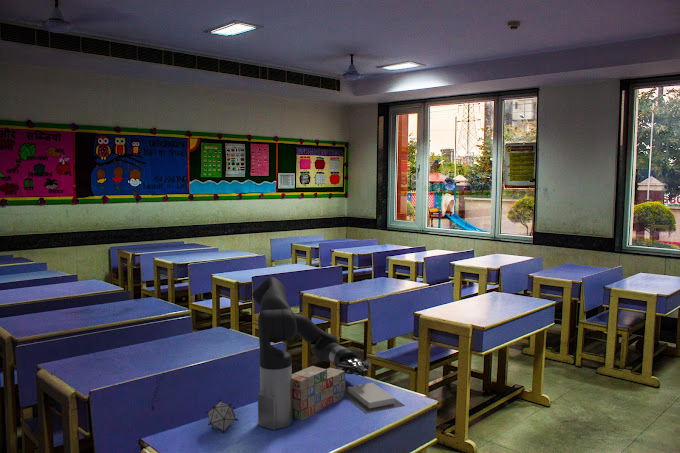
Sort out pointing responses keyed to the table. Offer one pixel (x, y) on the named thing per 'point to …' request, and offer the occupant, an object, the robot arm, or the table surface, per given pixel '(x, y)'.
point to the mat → (369, 410)
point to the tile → (371, 395)
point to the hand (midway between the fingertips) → (365, 373)
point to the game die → (221, 416)
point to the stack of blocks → (316, 390)
